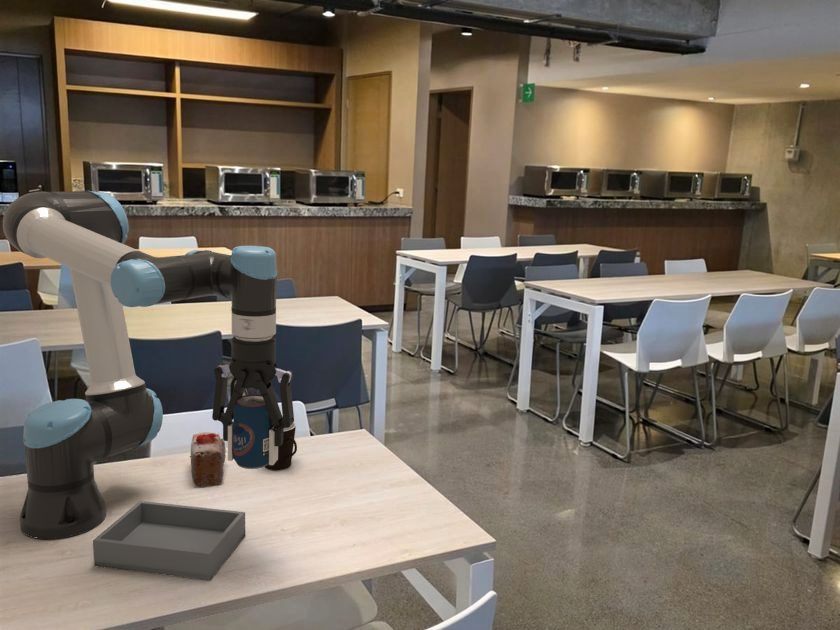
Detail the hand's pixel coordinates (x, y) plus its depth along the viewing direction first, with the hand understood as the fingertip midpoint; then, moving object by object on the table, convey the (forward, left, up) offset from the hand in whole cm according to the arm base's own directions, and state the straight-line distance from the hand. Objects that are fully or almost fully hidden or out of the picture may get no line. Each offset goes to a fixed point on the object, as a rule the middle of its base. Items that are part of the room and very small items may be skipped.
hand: (253, 459), depth 129 cm
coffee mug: (-9, +37, -19) cm, 43 cm away
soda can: (0, 0, -1) cm, 1 cm away
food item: (-23, +30, -19) cm, 42 cm away
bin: (-15, -3, -18) cm, 24 cm away
